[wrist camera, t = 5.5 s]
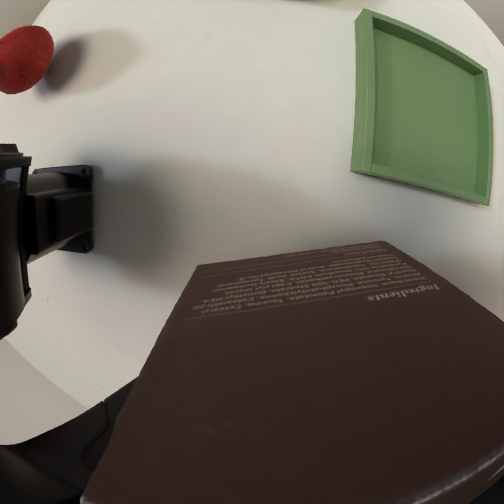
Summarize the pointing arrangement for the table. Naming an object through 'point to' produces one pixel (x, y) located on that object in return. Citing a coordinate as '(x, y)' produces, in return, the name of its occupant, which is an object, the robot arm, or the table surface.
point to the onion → (24, 58)
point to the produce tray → (420, 111)
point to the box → (313, 388)
